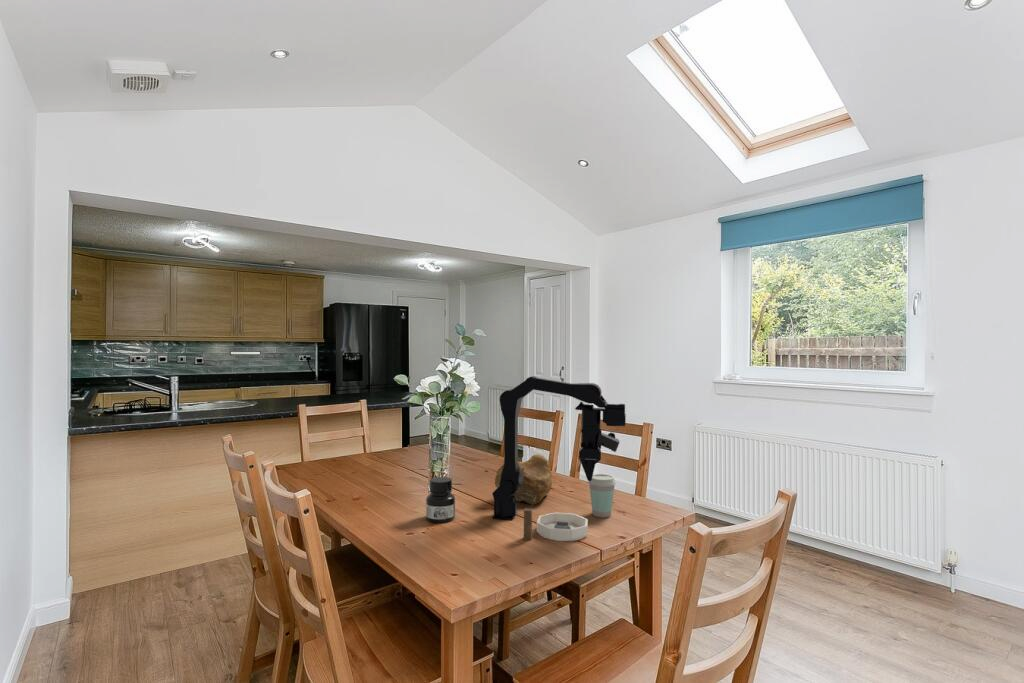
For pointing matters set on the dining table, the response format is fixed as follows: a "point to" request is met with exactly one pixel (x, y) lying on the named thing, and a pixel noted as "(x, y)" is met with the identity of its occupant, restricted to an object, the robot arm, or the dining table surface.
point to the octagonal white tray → (562, 526)
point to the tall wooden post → (527, 524)
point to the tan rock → (532, 479)
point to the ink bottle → (440, 500)
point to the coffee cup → (602, 494)
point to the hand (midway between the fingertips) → (590, 476)
